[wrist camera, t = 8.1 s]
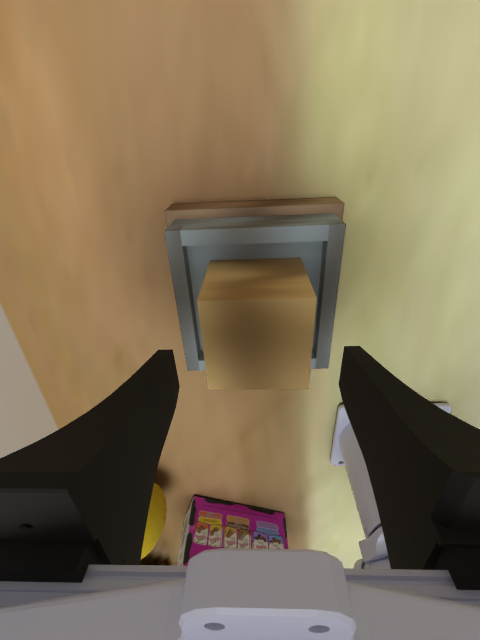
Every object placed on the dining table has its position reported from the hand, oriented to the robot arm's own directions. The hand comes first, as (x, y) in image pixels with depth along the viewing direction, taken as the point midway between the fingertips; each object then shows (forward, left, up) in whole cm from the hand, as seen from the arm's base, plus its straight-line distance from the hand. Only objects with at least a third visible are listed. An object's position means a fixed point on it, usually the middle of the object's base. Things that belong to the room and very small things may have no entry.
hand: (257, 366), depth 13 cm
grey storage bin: (0, 0, -10) cm, 10 cm away
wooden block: (0, 0, -6) cm, 6 cm away
